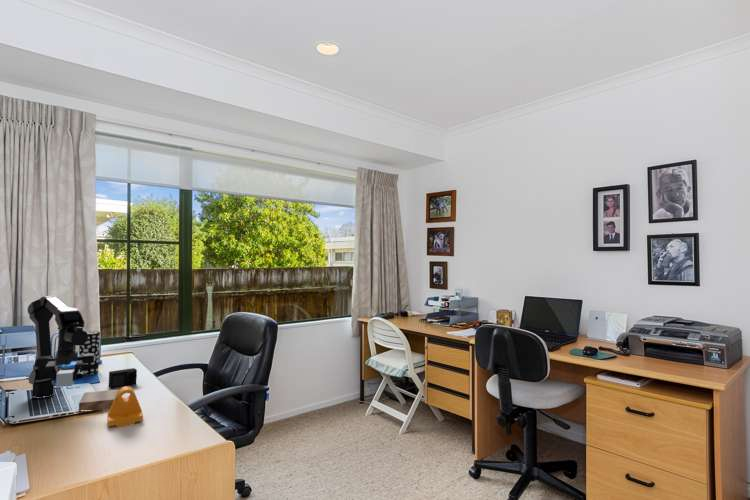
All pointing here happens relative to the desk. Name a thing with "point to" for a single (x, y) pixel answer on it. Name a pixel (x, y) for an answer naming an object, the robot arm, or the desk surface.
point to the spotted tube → (90, 347)
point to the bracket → (124, 409)
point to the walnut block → (97, 400)
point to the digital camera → (122, 378)
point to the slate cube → (64, 378)
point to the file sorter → (71, 362)
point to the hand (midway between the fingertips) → (65, 381)
